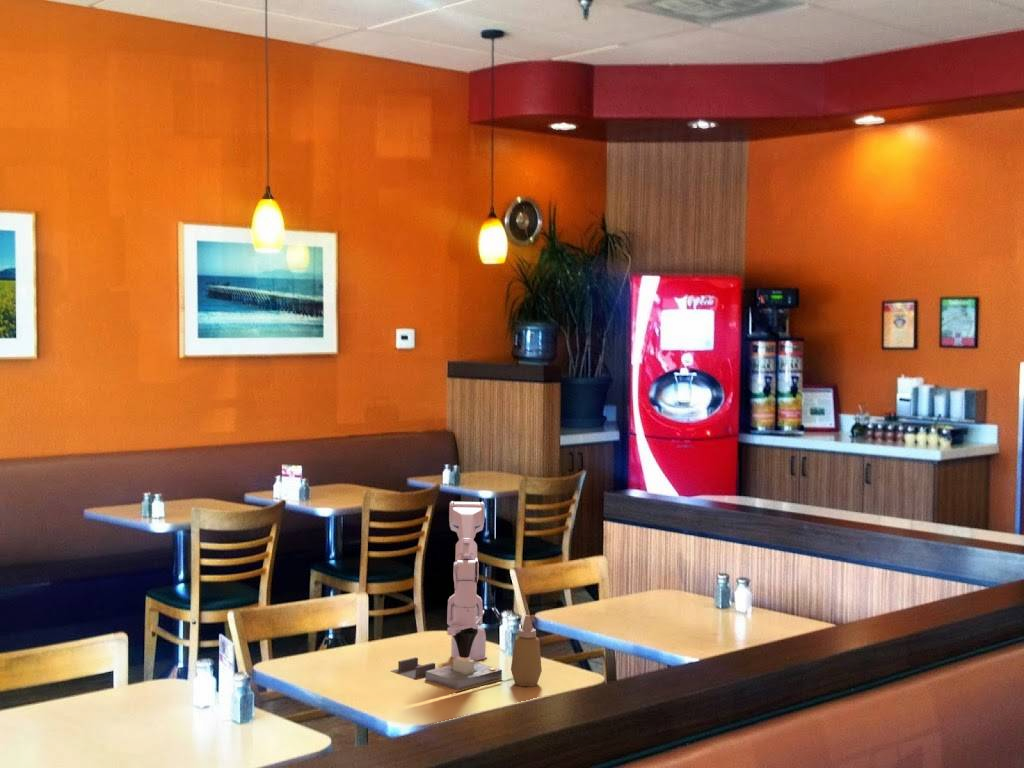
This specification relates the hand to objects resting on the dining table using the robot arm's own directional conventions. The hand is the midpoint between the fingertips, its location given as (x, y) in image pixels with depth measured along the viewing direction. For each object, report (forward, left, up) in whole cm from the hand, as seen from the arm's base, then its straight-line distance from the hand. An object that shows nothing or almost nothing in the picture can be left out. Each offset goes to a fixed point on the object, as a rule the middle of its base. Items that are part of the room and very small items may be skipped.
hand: (464, 657), depth 330 cm
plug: (0, 0, -7) cm, 7 cm away
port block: (0, 0, -7) cm, 7 cm away
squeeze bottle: (-11, +12, -7) cm, 18 cm away
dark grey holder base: (+5, -13, -7) cm, 15 cm away
